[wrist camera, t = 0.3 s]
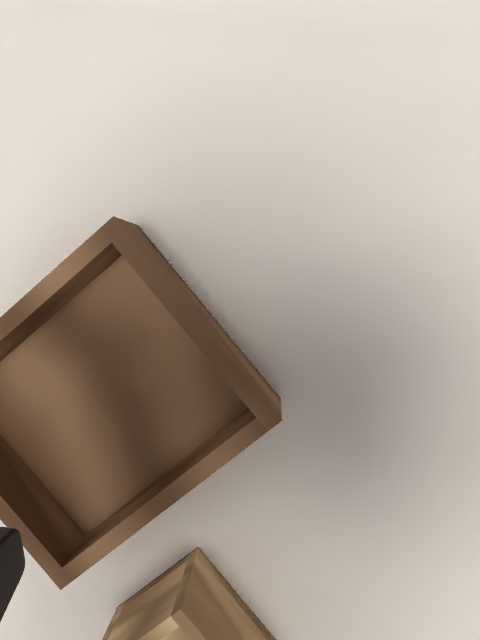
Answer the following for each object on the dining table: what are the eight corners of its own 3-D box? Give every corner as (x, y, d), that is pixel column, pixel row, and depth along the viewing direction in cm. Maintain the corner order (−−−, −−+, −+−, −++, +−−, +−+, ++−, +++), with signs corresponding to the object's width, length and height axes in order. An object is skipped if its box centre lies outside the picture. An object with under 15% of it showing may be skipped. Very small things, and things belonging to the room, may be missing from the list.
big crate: (90, 545, 25) (60, 589, 21) (-45, 386, 24) (-98, 404, 21) (280, 398, 23) (281, 420, 19) (138, 225, 23) (113, 216, 19)
